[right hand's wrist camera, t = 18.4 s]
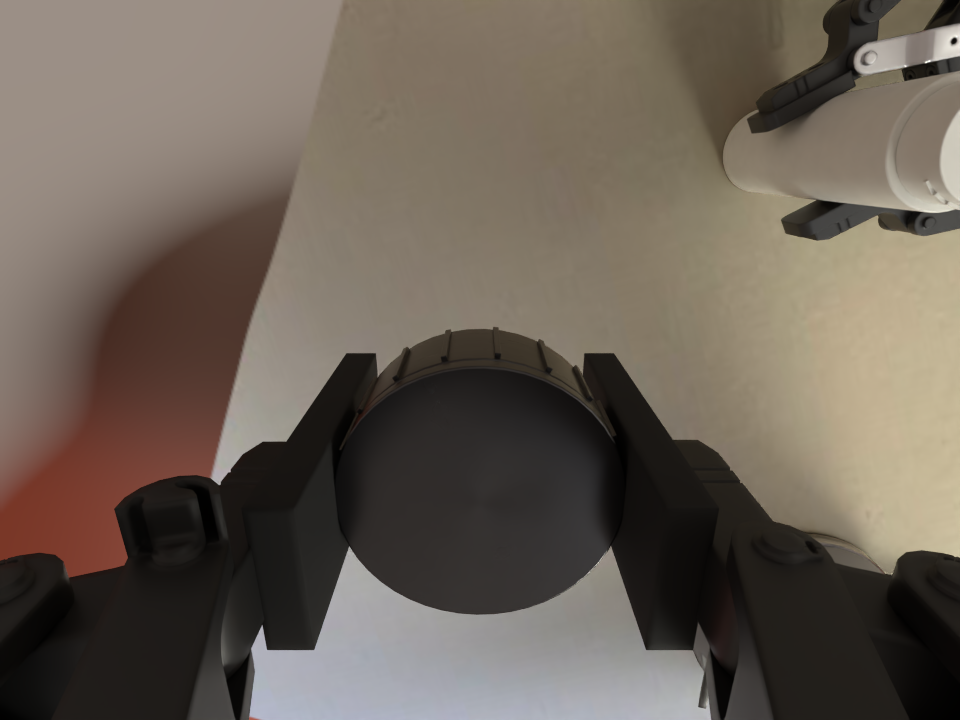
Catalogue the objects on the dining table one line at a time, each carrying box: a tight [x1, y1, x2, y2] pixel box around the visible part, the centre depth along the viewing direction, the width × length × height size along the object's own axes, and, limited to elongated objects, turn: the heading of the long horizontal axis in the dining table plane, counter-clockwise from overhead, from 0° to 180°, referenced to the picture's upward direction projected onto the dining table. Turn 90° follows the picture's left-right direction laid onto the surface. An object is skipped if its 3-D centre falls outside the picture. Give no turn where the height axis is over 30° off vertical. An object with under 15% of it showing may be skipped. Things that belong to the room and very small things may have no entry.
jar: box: [723, 71, 960, 213], centre depth 24 cm, size 4×5×15 cm
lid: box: [334, 327, 626, 615], centre depth 11 cm, size 6×6×2 cm
